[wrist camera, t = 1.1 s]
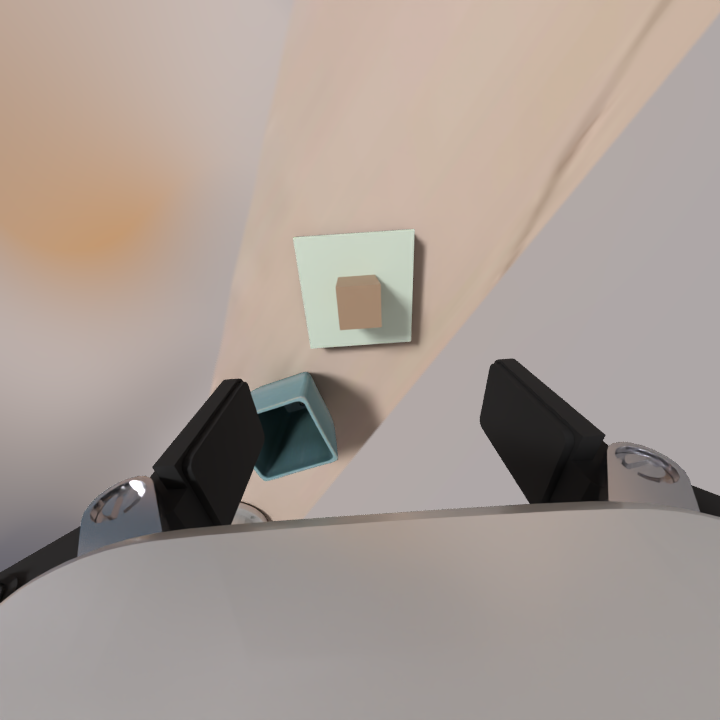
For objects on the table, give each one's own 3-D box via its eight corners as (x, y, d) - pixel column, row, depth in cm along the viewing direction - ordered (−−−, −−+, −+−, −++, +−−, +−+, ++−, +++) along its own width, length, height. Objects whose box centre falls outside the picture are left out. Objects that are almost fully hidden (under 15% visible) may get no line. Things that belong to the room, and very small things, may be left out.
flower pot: (315, 352, 31) (303, 395, 23) (341, 407, 35) (339, 461, 27) (250, 374, 32) (216, 423, 24) (282, 425, 36) (263, 482, 28)
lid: (408, 337, 29) (422, 362, 24) (312, 344, 29) (303, 370, 24) (411, 229, 24) (430, 229, 19) (295, 237, 24) (279, 239, 19)
